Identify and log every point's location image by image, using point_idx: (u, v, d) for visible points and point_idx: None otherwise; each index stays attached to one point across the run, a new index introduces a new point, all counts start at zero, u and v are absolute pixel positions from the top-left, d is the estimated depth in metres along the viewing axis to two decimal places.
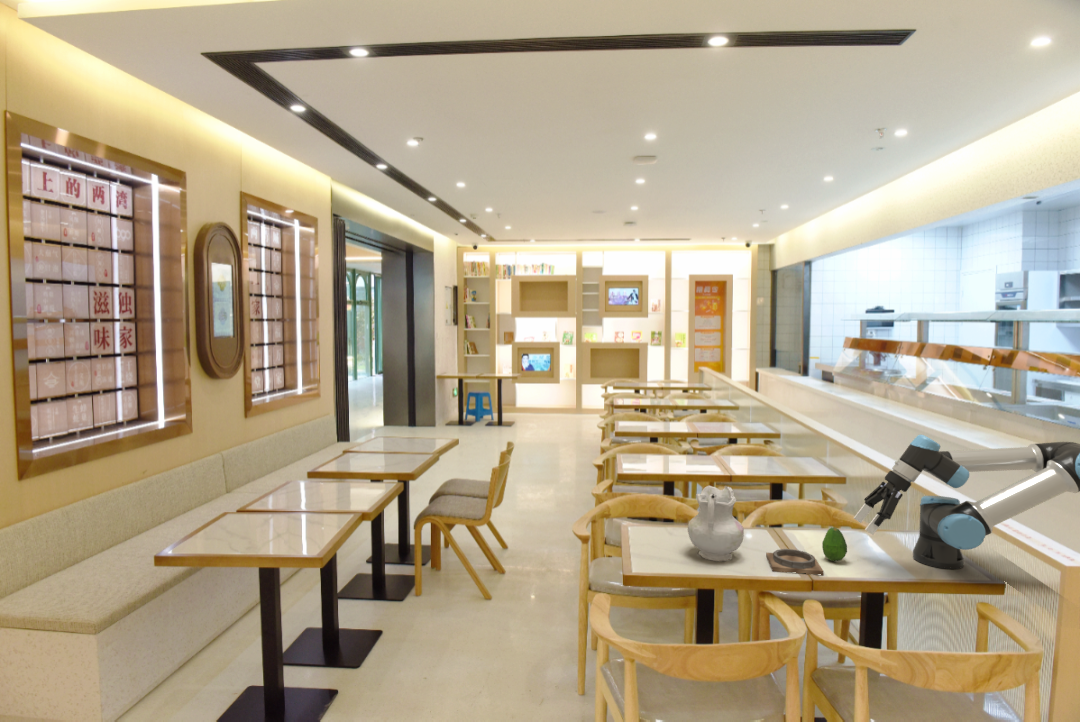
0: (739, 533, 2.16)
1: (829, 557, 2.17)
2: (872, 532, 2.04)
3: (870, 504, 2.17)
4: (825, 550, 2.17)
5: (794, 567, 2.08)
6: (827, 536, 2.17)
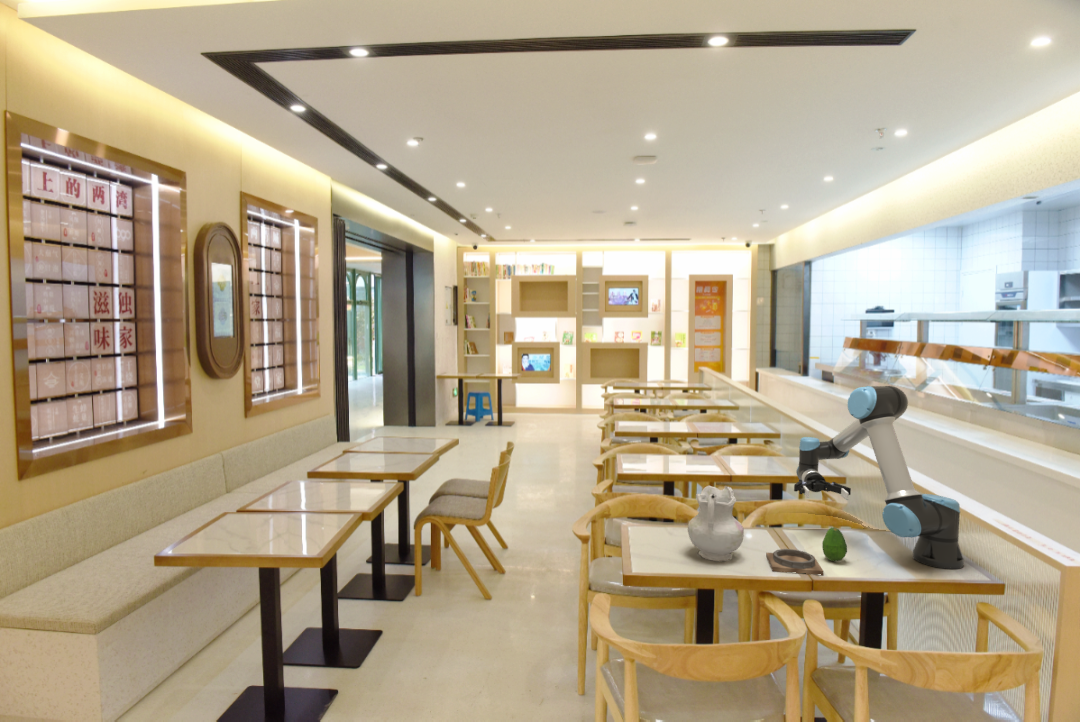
0: (739, 533, 2.16)
1: (829, 557, 2.17)
2: (806, 491, 2.31)
3: None
4: (825, 550, 2.17)
5: (794, 567, 2.08)
6: (827, 536, 2.17)
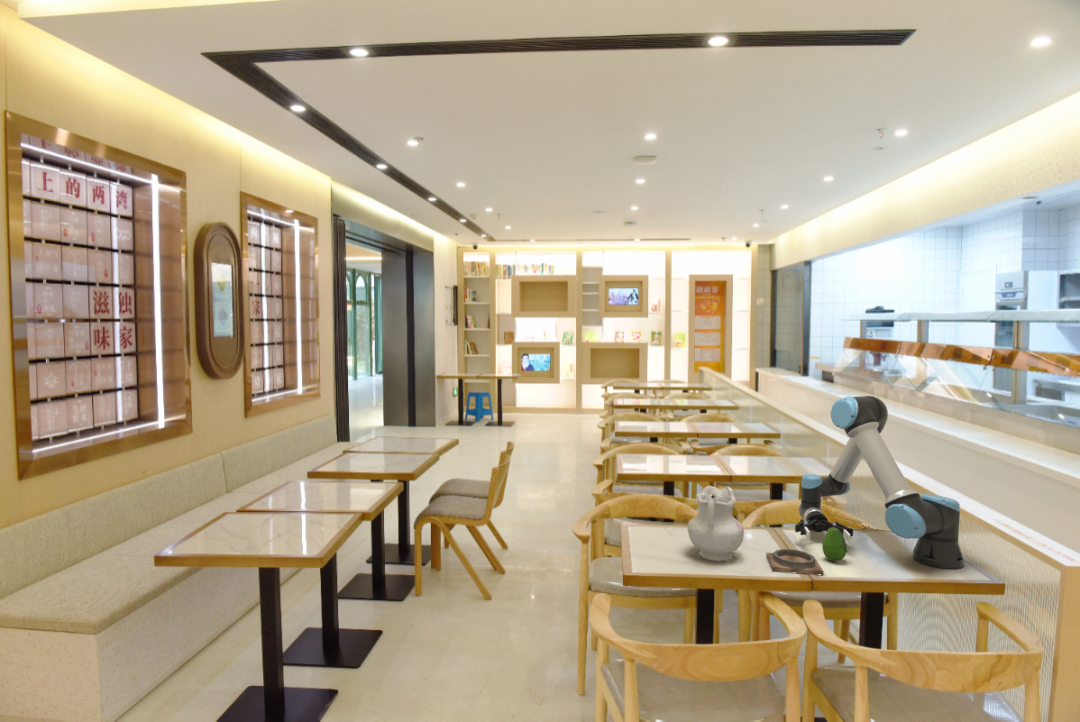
0: (739, 533, 2.16)
1: (829, 557, 2.17)
2: (807, 533, 2.26)
3: None
4: (825, 550, 2.17)
5: (794, 567, 2.08)
6: (827, 536, 2.17)
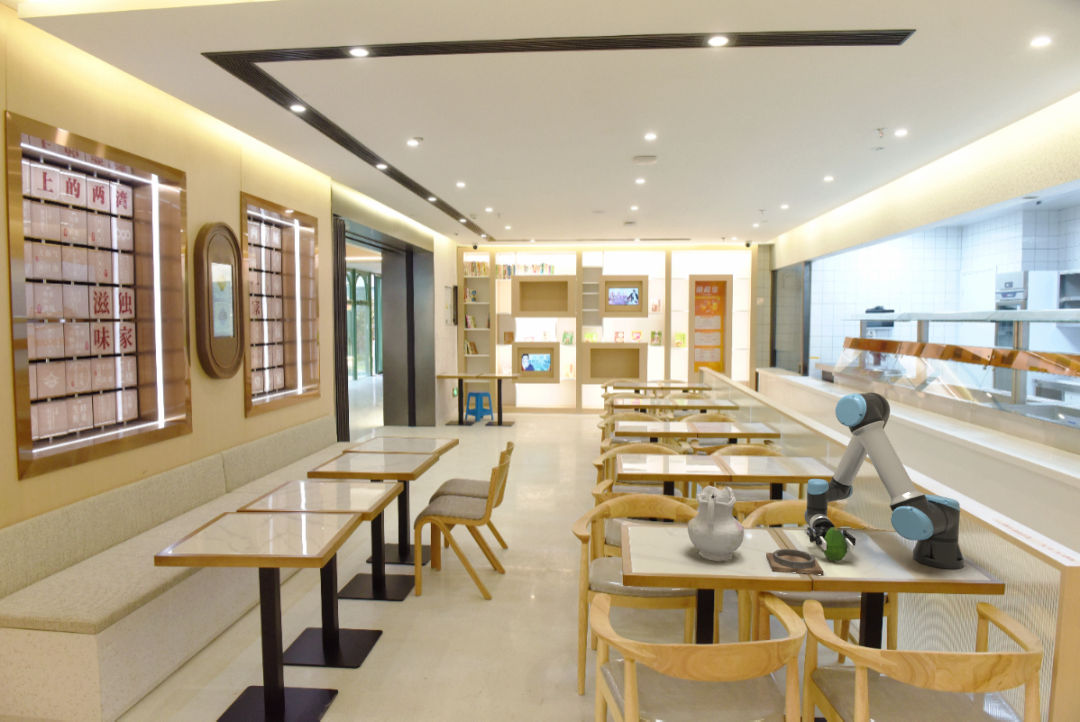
0: (739, 533, 2.16)
1: (829, 557, 2.17)
2: (823, 543, 2.15)
3: None
4: (825, 550, 2.17)
5: (794, 567, 2.08)
6: (827, 536, 2.17)
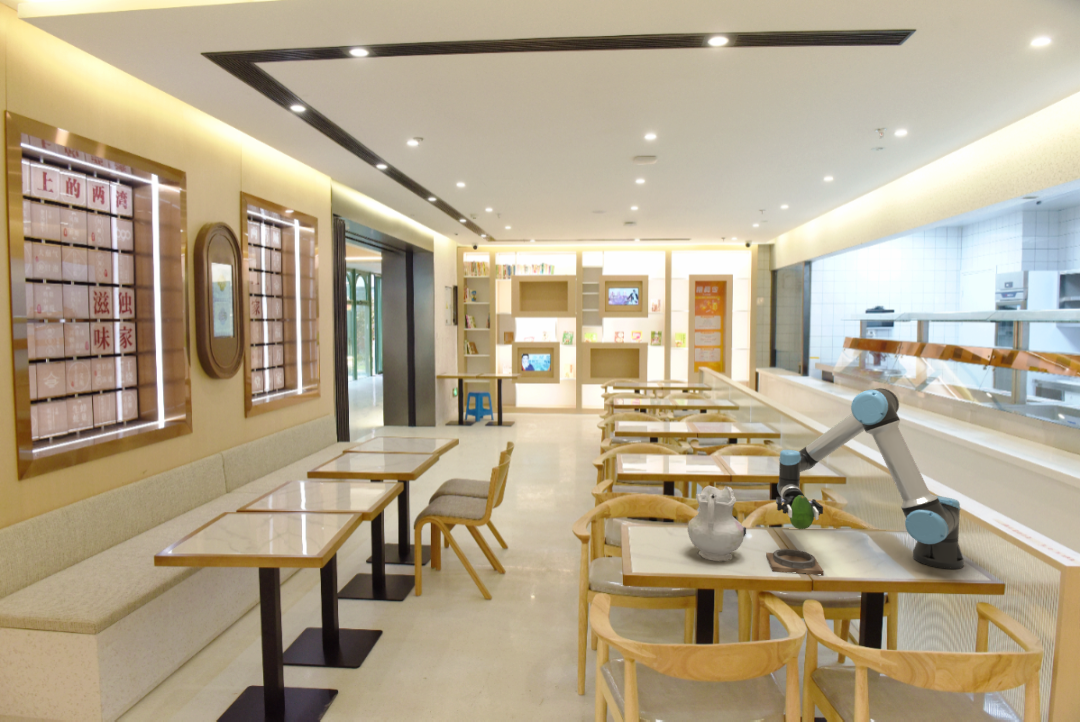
0: (739, 533, 2.16)
1: (795, 525, 2.14)
2: (789, 511, 2.13)
3: None
4: (791, 518, 2.15)
5: (794, 567, 2.08)
6: (794, 504, 2.15)
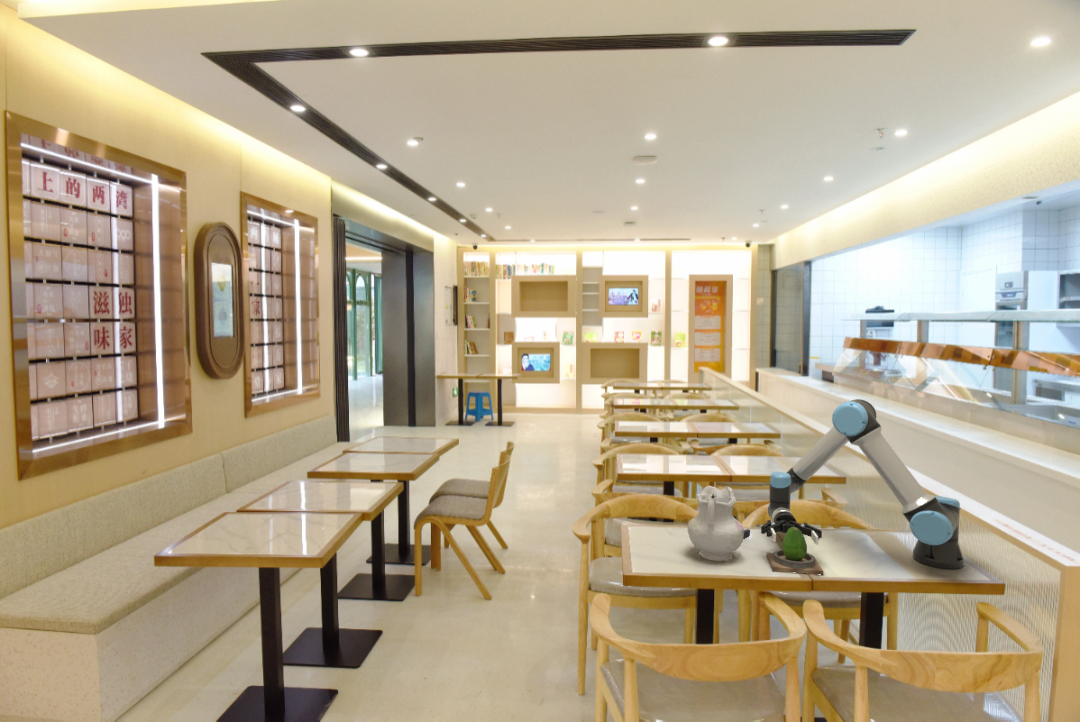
0: (739, 533, 2.16)
1: (789, 557, 2.12)
2: (773, 535, 2.13)
3: None
4: (785, 550, 2.13)
5: (794, 567, 2.08)
6: (787, 536, 2.12)
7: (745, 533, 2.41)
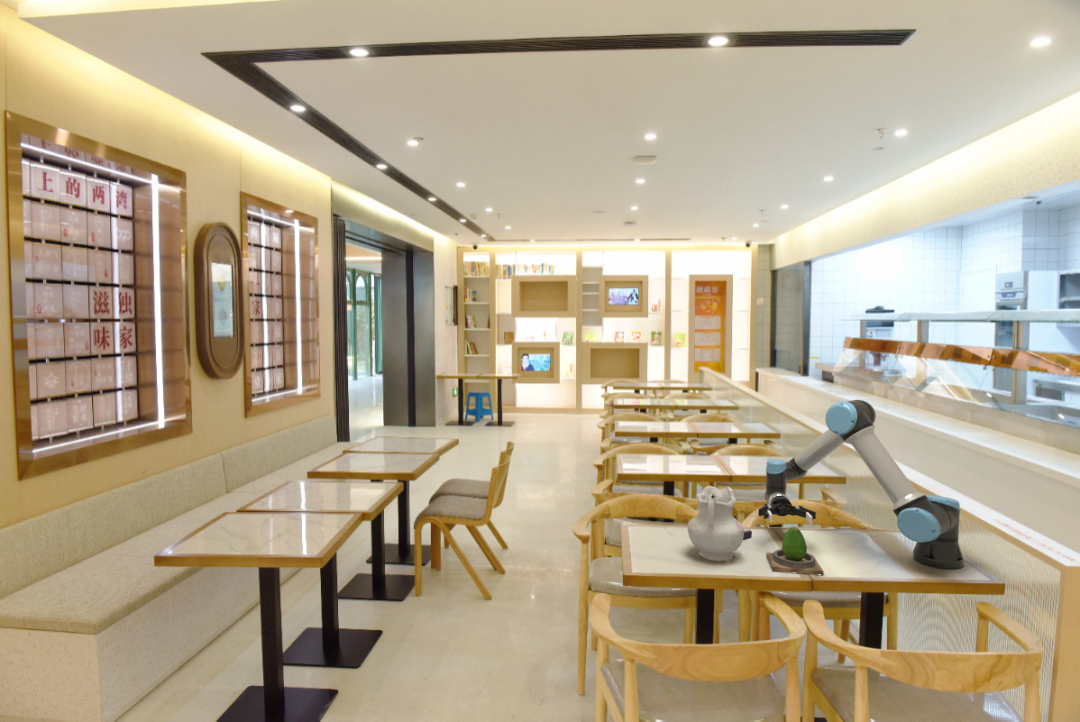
0: (739, 533, 2.16)
1: (788, 557, 2.12)
2: (769, 516, 2.26)
3: None
4: (784, 550, 2.13)
5: (794, 567, 2.08)
6: (786, 536, 2.13)
7: (746, 534, 2.40)
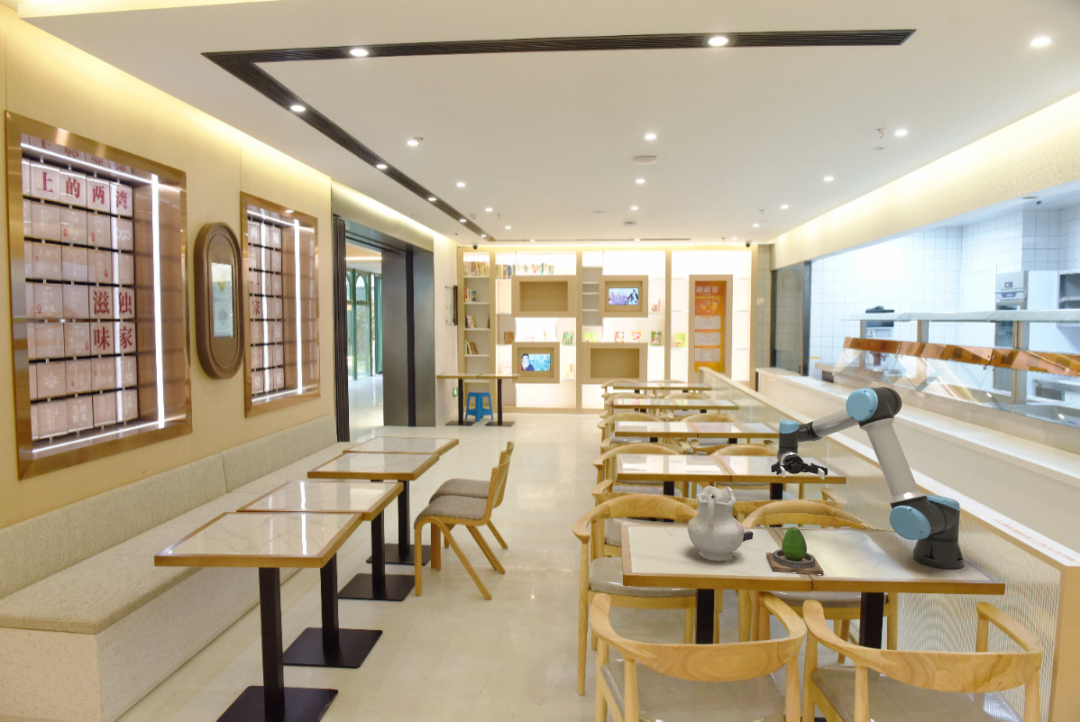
0: (739, 533, 2.16)
1: (788, 557, 2.12)
2: (782, 471, 2.31)
3: None
4: (784, 550, 2.13)
5: (794, 567, 2.08)
6: (786, 536, 2.13)
7: (746, 535, 2.39)
